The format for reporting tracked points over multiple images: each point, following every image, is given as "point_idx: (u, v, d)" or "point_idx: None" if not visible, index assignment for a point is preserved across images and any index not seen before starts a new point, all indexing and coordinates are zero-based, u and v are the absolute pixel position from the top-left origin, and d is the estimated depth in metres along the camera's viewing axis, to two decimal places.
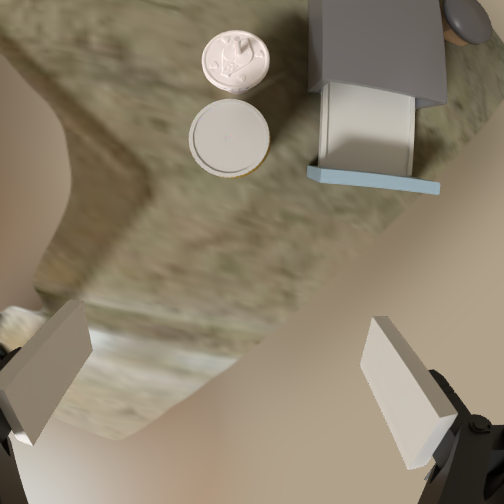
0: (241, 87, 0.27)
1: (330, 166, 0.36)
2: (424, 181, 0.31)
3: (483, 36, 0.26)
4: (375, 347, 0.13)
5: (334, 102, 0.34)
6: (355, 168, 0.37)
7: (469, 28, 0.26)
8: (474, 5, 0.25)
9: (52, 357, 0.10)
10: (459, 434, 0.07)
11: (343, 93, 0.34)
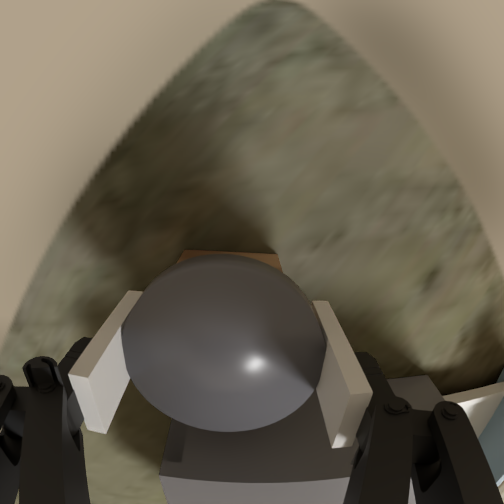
0: None
1: None
2: None
3: (295, 327, 0.11)
4: None
5: None
6: None
7: (281, 382, 0.12)
8: (159, 337, 0.11)
9: None
10: (374, 418, 0.08)
11: None
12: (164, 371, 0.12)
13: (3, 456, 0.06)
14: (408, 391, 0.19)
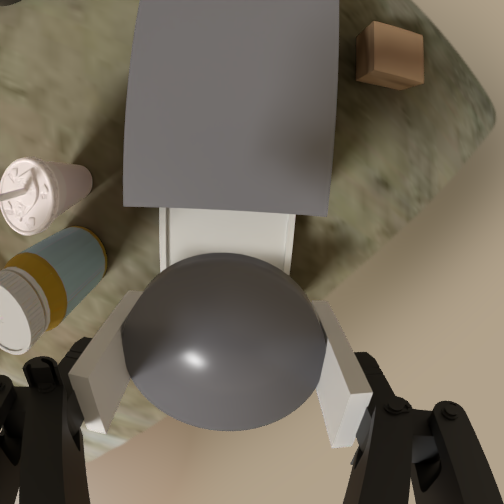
0: (32, 233, 0.21)
1: None
2: None
3: (296, 326, 0.11)
4: None
5: (176, 210, 0.29)
6: None
7: (281, 381, 0.12)
8: (159, 336, 0.11)
9: None
10: (374, 418, 0.08)
11: None
12: (164, 370, 0.12)
13: (3, 456, 0.06)
14: None
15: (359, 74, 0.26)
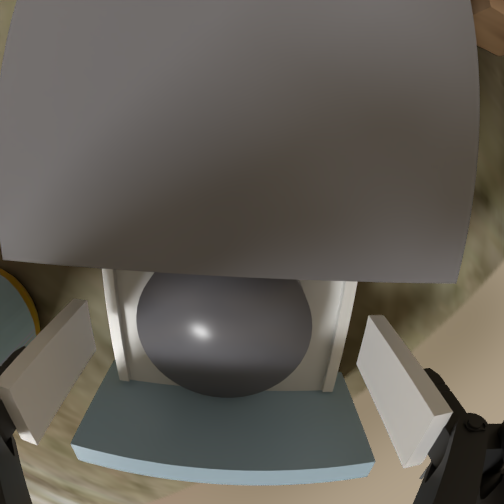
0: None
1: (143, 379, 0.17)
2: (329, 468, 0.12)
3: (285, 298, 0.14)
4: (371, 346, 0.13)
5: None
6: None
7: (274, 349, 0.14)
8: (169, 308, 0.14)
9: (56, 356, 0.10)
10: (454, 433, 0.07)
11: None
12: (173, 339, 0.14)
13: None
14: None
15: None
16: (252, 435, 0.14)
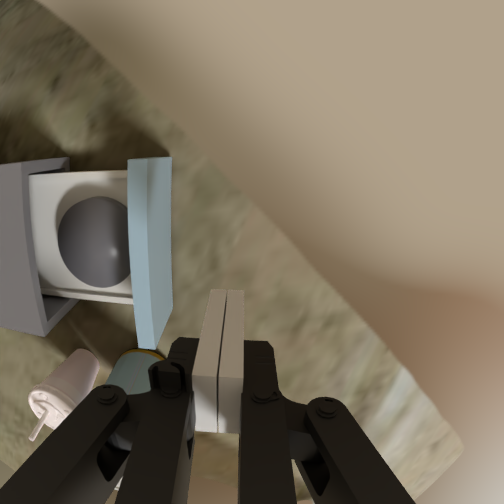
0: None
1: None
2: (129, 193, 0.20)
3: (73, 216, 0.25)
4: None
5: (78, 283, 0.28)
6: None
7: (98, 218, 0.25)
8: (88, 270, 0.26)
9: None
10: (241, 409, 0.08)
11: (66, 272, 0.28)
12: (103, 270, 0.26)
13: (97, 472, 0.06)
14: (41, 159, 0.25)
15: None
16: None
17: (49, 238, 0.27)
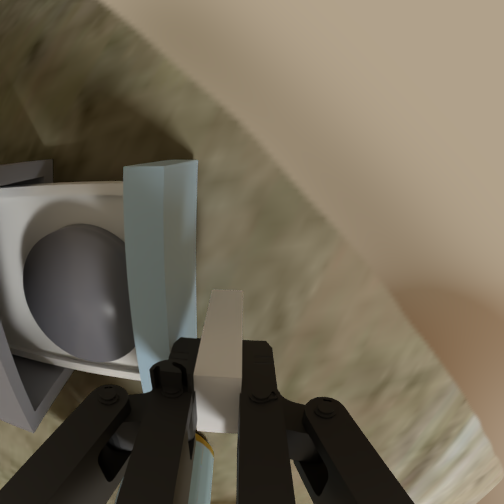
0: None
1: None
2: (127, 233, 0.10)
3: (39, 259, 0.15)
4: None
5: None
6: None
7: (77, 260, 0.15)
8: (74, 338, 0.16)
9: None
10: (240, 409, 0.08)
11: None
12: (96, 338, 0.16)
13: (98, 473, 0.06)
14: None
15: None
16: None
17: (15, 282, 0.17)
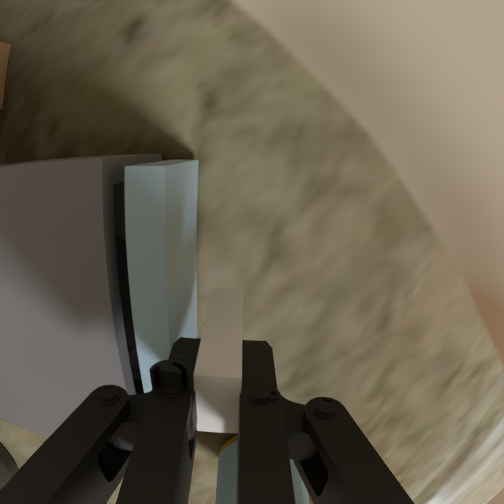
0: None
1: None
2: (129, 233, 0.10)
3: None
4: None
5: None
6: None
7: None
8: None
9: None
10: (240, 410, 0.08)
11: None
12: None
13: (98, 473, 0.06)
14: (110, 155, 0.15)
15: None
16: None
17: None
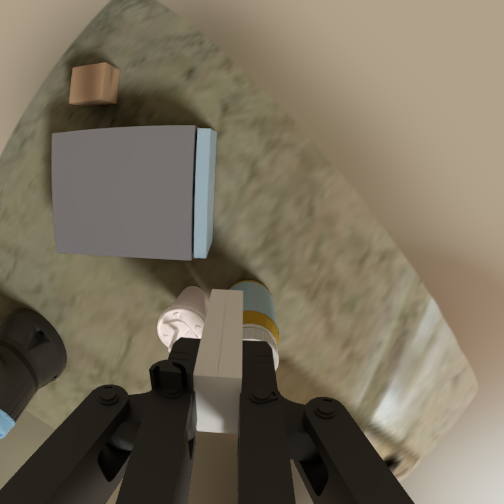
0: None
1: None
2: (197, 149, 0.33)
3: None
4: None
5: None
6: None
7: None
8: None
9: None
10: (240, 409, 0.08)
11: None
12: None
13: (98, 473, 0.06)
14: None
15: (110, 103, 0.37)
16: None
17: None
